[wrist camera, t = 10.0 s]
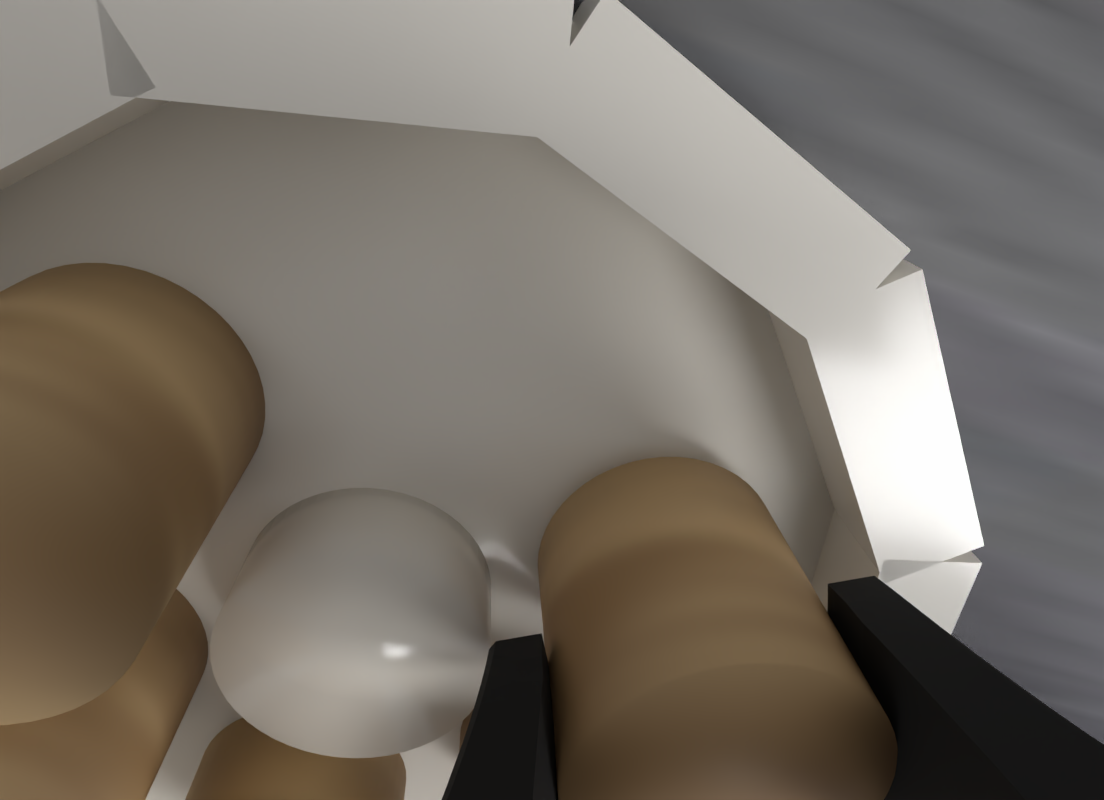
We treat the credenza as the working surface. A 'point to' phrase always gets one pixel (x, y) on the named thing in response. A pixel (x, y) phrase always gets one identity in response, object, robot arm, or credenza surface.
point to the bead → (697, 650)
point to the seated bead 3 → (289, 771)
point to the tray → (472, 324)
